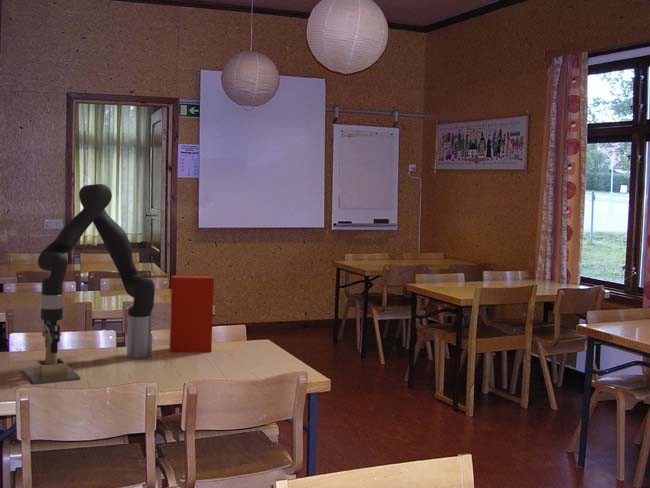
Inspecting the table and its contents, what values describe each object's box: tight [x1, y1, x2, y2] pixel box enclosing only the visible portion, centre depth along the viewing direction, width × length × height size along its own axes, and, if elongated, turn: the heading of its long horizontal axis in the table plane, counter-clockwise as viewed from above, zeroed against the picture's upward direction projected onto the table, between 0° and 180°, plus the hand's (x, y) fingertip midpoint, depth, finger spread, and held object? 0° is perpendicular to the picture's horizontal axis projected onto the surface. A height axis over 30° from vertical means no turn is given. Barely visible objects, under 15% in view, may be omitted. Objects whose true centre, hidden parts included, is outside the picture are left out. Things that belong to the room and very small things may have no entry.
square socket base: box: [21, 357, 81, 385], centre depth 268 cm, size 16×20×5 cm
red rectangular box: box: [169, 275, 215, 353], centre depth 316 cm, size 8×17×32 cm, turn 104°
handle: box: [41, 330, 62, 365], centre depth 267 cm, size 5×6×15 cm
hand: (51, 350), depth 267 cm, fingers open, 8 cm apart
